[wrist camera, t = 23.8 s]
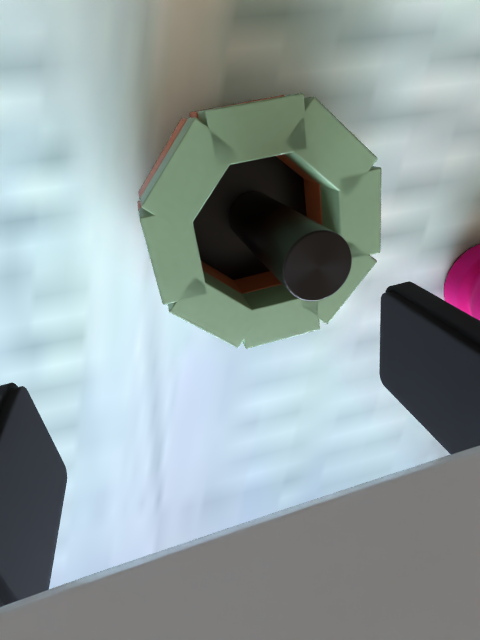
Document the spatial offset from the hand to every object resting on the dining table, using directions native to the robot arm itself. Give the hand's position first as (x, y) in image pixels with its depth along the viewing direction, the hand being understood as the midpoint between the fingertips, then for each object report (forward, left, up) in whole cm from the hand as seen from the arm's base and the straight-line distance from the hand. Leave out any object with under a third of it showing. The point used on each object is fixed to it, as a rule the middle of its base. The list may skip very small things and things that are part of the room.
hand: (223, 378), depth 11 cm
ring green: (+5, 0, -13) cm, 14 cm away
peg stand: (+5, 0, -17) cm, 17 cm away
